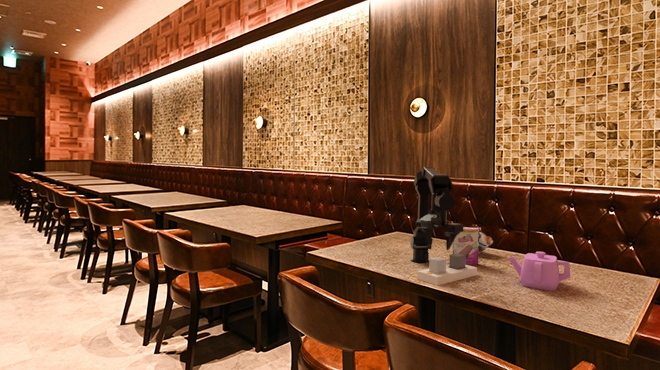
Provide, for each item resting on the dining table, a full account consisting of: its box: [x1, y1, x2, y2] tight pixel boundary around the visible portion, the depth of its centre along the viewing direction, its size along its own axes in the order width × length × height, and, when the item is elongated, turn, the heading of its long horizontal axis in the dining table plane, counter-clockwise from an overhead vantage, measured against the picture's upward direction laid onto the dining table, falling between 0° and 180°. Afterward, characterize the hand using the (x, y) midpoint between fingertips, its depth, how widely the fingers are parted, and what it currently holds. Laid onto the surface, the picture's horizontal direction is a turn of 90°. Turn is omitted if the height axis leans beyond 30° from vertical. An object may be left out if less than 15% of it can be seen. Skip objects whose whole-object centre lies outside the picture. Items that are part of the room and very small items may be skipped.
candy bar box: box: [452, 226, 480, 266], centre depth 182 cm, size 11×5×16 cm, turn 71°
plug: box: [428, 256, 447, 275], centre depth 156 cm, size 4×5×8 cm
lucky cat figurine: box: [479, 231, 494, 254], centre depth 203 cm, size 15×12×14 cm
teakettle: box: [508, 251, 571, 292], centre depth 153 cm, size 17×17×12 cm
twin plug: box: [448, 253, 466, 270], centre depth 163 cm, size 4×5×8 cm
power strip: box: [416, 263, 478, 286], centre depth 160 cm, size 10×24×4 cm, turn 125°
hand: (438, 247), depth 156 cm, fingers open, 9 cm apart
